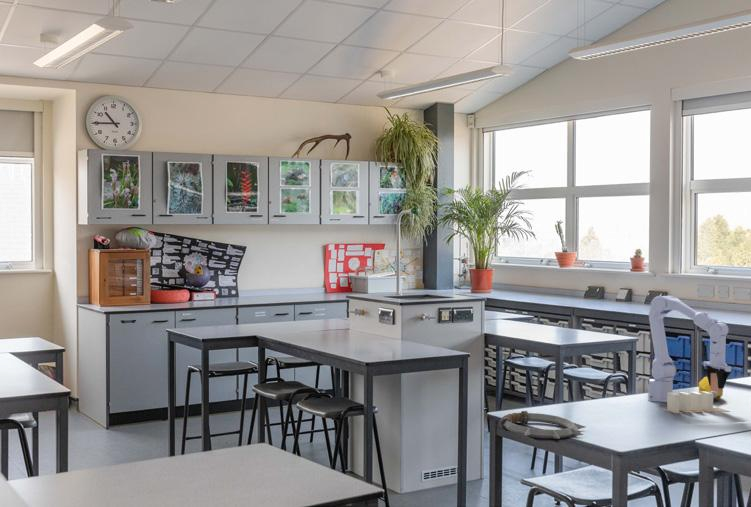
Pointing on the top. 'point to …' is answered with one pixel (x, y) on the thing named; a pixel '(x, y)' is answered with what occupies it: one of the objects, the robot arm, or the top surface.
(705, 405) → the domino
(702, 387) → the yellow elongated lump
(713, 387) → the domino
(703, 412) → the domino board
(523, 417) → the spiked ring
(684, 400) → the domino
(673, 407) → the domino
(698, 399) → the domino
